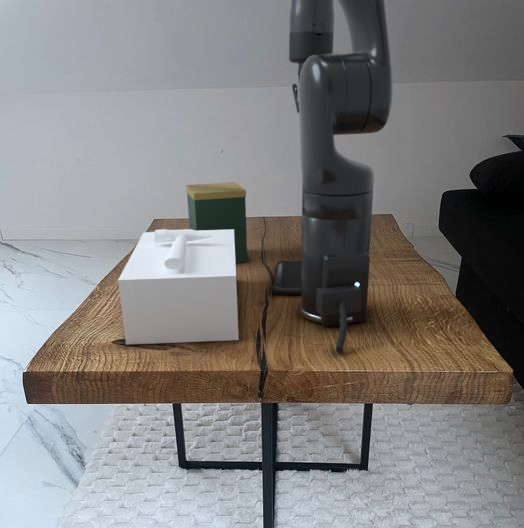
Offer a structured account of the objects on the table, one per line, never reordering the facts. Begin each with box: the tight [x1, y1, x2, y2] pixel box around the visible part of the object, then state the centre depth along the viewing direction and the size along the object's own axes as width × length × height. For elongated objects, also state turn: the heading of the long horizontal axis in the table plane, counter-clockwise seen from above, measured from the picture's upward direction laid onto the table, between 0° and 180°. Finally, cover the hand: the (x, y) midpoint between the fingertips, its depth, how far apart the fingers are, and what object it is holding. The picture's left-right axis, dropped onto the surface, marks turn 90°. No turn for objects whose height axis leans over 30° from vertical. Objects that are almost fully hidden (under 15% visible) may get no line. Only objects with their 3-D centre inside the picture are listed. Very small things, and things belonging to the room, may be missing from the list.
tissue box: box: [117, 228, 240, 346], centre depth 87 cm, size 14×25×11 cm, turn 3°
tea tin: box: [185, 181, 248, 264], centre depth 111 cm, size 9×9×13 cm
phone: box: [272, 260, 301, 296], centre depth 100 cm, size 8×1×15 cm
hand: (308, 139), depth 109 cm, fingers closed
